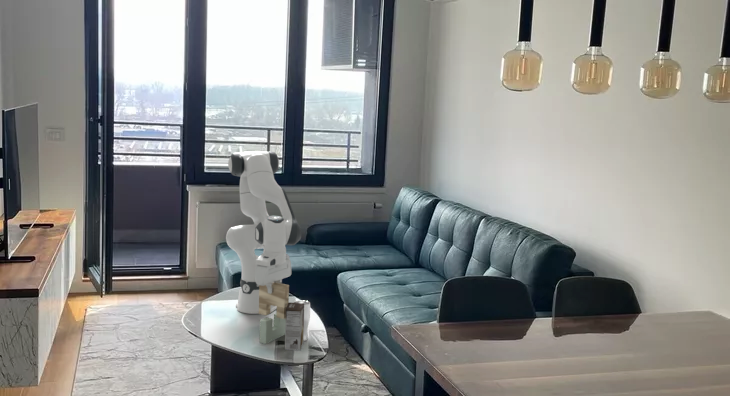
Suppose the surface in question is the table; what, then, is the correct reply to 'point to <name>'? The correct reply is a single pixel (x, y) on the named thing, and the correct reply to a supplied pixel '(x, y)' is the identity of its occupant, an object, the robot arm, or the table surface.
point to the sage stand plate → (271, 329)
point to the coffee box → (294, 326)
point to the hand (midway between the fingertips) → (273, 291)
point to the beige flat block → (274, 299)
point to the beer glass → (305, 318)
